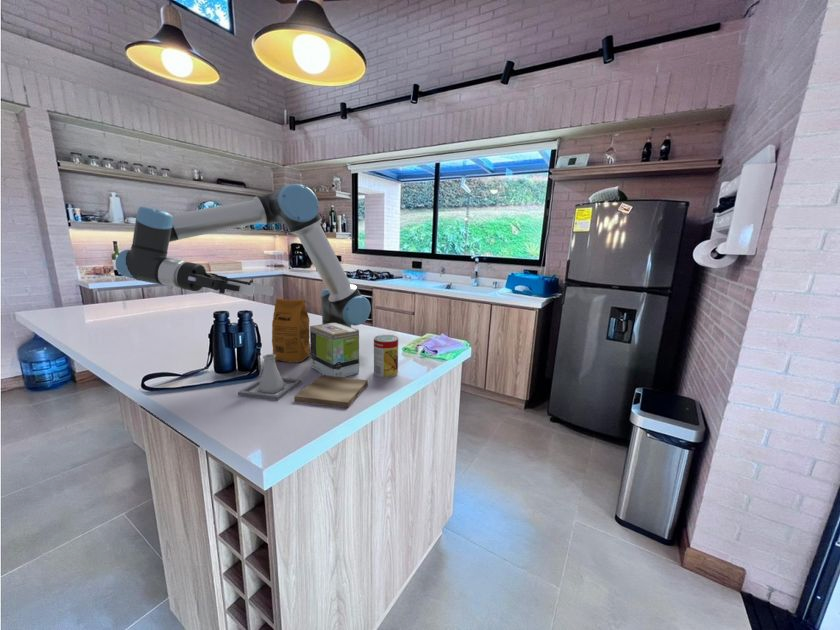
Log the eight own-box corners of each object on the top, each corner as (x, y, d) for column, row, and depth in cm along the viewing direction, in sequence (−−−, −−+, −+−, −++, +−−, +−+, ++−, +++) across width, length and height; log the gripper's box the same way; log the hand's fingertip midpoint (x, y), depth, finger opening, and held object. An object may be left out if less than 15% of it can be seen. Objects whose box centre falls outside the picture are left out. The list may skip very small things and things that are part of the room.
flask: (251, 393, 91) (249, 358, 89) (267, 382, 98) (265, 350, 96) (276, 395, 90) (274, 360, 88) (290, 384, 98) (288, 352, 96)
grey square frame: (266, 378, 101) (265, 375, 101) (301, 382, 99) (301, 379, 99) (238, 395, 90) (237, 392, 90) (277, 400, 88) (277, 396, 87)
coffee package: (284, 352, 126) (281, 295, 122) (314, 355, 124) (312, 297, 119) (267, 361, 117) (263, 299, 112) (299, 364, 114) (296, 301, 110)
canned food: (402, 372, 110) (403, 337, 107) (387, 379, 103) (387, 342, 101) (384, 367, 114) (384, 333, 112) (368, 373, 108) (368, 338, 105)
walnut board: (321, 379, 102) (321, 375, 101) (367, 384, 99) (367, 380, 99) (294, 401, 87) (294, 396, 87) (347, 407, 85) (347, 402, 84)
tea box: (360, 373, 108) (360, 329, 105) (333, 381, 101) (331, 334, 98) (336, 361, 119) (335, 321, 116) (310, 367, 112) (308, 325, 109)
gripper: (207, 289, 102) (277, 303, 104) (148, 288, 78) (240, 306, 79) (211, 265, 102) (281, 279, 104) (153, 256, 77) (246, 276, 79)
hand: (264, 291), depth 92 cm, fingers open, 13 cm apart
